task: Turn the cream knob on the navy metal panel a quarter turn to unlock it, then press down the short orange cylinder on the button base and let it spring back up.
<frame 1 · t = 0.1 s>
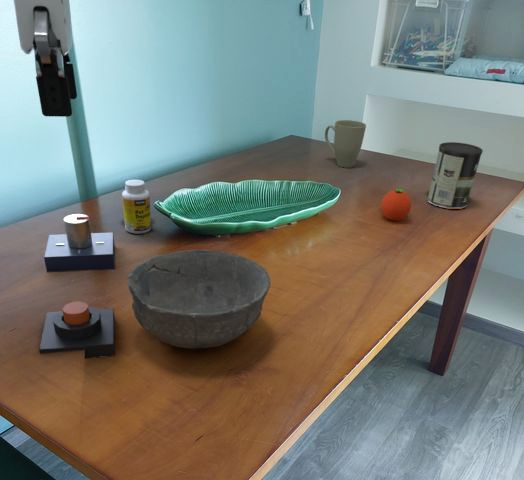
hand: (61, 106, 65), 32 cm above the table, tool pointing down, fingers open, 9 cm apart
bowl: (200, 334, 84), on the table
supplement bottle: (138, 230, 115), on the table
orange short cylinder: (76, 313, 78), point 5 cm above the table, slide at 0.1 cm
lock knob: (78, 230, 99), point 6 cm above the table, hinge at 0.0°
coffee can: (446, 203, 139), on the table
button base: (80, 339, 80), on the table
clementine: (393, 219, 128), on the table
lock panel: (82, 258, 102), on the table
mug: (341, 165, 163), on the table
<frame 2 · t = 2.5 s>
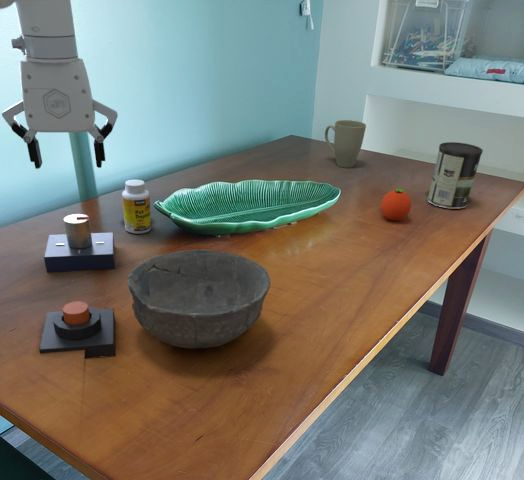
hand: (69, 165, 89), 19 cm above the table, tool pointing down, fingers open, 9 cm apart
nothing on the table moved.
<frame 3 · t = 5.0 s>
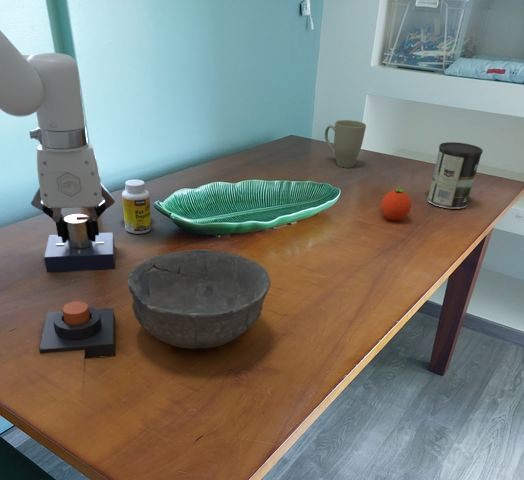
hand: (79, 238, 100), 4 cm above the table, tool pointing down, fingers closed on lock knob, 4 cm apart
lock knob: (78, 230, 99), point 6 cm above the table, hinge at -0.1°, touching gripper
everything else where it was.
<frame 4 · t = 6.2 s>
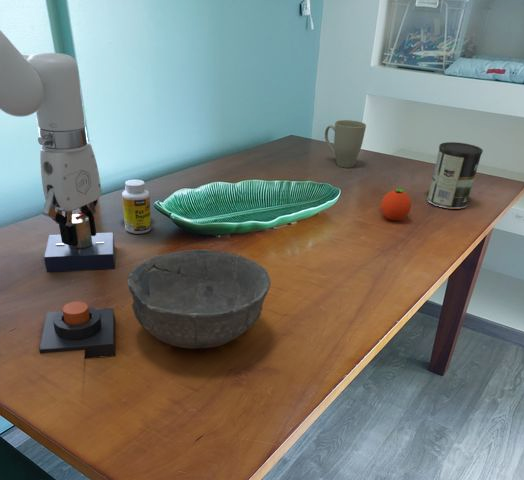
hand: (79, 238, 100), 4 cm above the table, tool pointing down, fingers closed on lock knob, 4 cm apart
lock knob: (78, 230, 99), point 6 cm above the table, hinge at 53.1°, touching gripper
everything else where it was.
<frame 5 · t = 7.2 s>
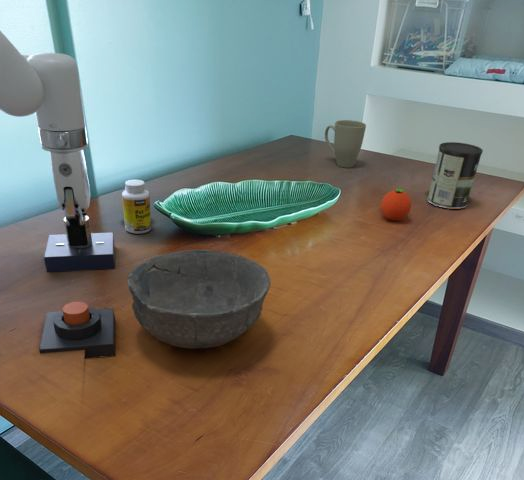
hand: (79, 238, 100), 4 cm above the table, tool pointing down, fingers closed on lock knob, 4 cm apart
lock knob: (78, 230, 99), point 6 cm above the table, hinge at 89.9°, touching gripper
everything else where it was.
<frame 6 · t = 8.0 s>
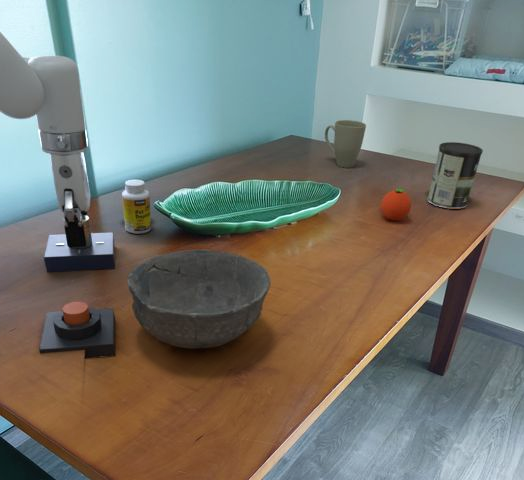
hand: (78, 235, 100), 5 cm above the table, tool pointing down, fingers open, 9 cm apart
lock knob: (78, 230, 99), point 6 cm above the table, hinge at 91.5°
everything else where it was.
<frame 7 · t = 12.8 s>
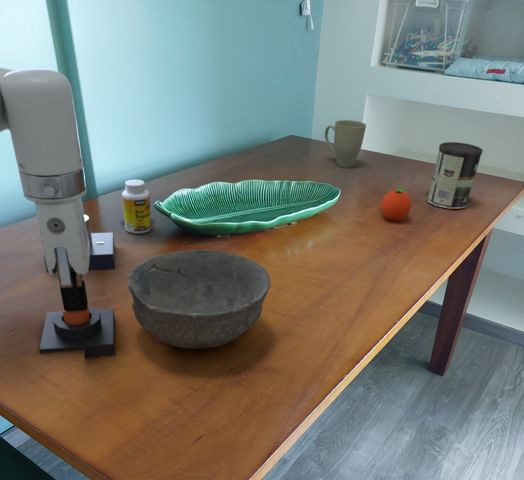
hand: (76, 307, 77), 6 cm above the table, tool pointing down, fingers closed
orange short cylinder: (76, 314, 78), point 5 cm above the table, slide at 0.0 cm, touching gripper
everything else where it was.
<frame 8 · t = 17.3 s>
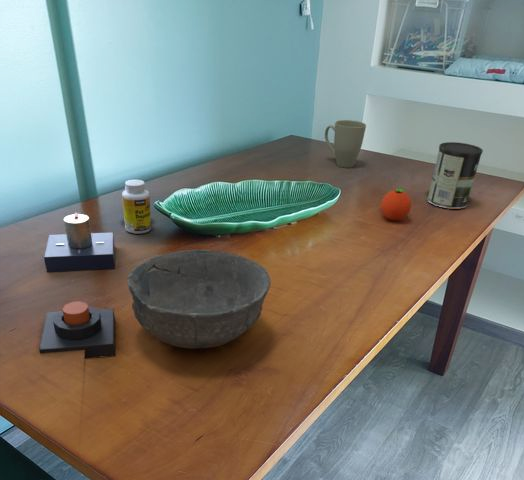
orange short cylinder: (76, 313, 78), point 5 cm above the table, slide at 0.1 cm
everything else where it was.
at the end: lock knob at +92° (first picture: +0°); orange short cylinder pushed in 1.1 cm at the most during the clip, back to where it started at the end; orange short cylinder slide at 0.1 cm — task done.
